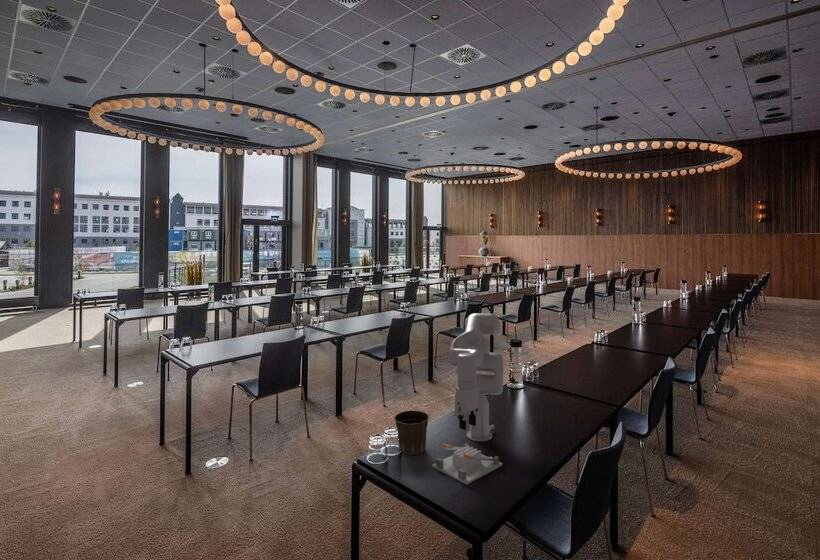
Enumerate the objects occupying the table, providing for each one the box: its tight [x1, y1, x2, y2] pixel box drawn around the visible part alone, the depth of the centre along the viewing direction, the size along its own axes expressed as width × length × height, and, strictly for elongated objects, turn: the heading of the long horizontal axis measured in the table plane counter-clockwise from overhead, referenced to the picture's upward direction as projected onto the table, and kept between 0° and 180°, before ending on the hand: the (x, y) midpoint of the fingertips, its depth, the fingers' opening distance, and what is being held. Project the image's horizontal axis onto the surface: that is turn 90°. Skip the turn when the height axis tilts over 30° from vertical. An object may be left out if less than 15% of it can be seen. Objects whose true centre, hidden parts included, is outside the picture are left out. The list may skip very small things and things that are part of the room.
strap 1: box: [440, 443, 464, 451], centre depth 200 cm, size 19×3×2 cm, turn 132°
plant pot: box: [394, 410, 430, 456], centre depth 211 cm, size 16×16×16 cm
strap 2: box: [463, 454, 494, 461], centre depth 190 cm, size 19×3×2 cm, turn 132°
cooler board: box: [431, 443, 503, 485], centre depth 194 cm, size 23×20×6 cm
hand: (467, 426), depth 184 cm, fingers open, 5 cm apart
